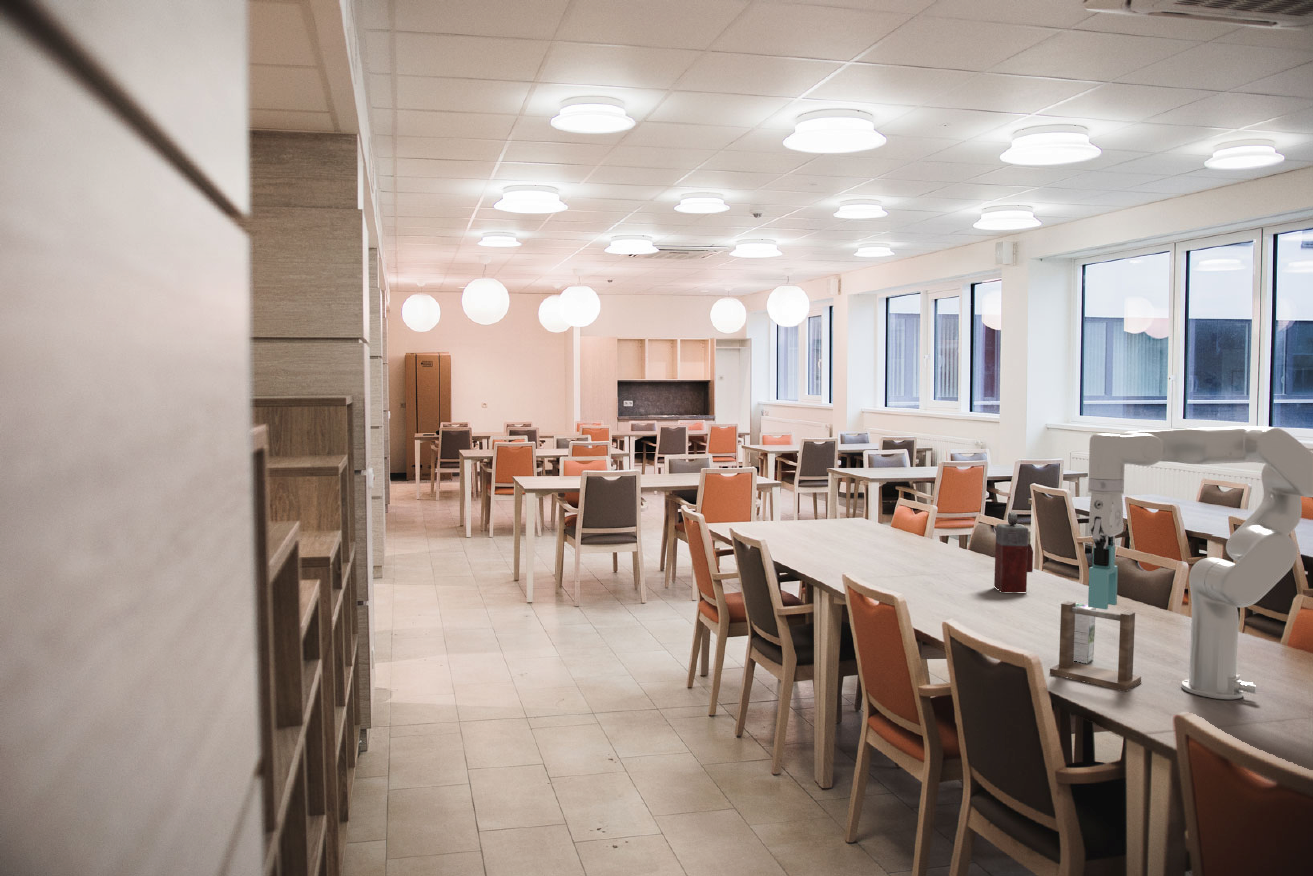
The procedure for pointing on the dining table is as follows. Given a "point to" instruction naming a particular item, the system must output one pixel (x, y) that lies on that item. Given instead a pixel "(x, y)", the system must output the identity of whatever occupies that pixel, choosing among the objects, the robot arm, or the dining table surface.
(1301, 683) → the dining table surface
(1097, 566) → the teal block figure
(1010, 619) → the dining table surface
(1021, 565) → the dark red lidded canister
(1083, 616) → the syrup box
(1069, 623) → the hanger rack
